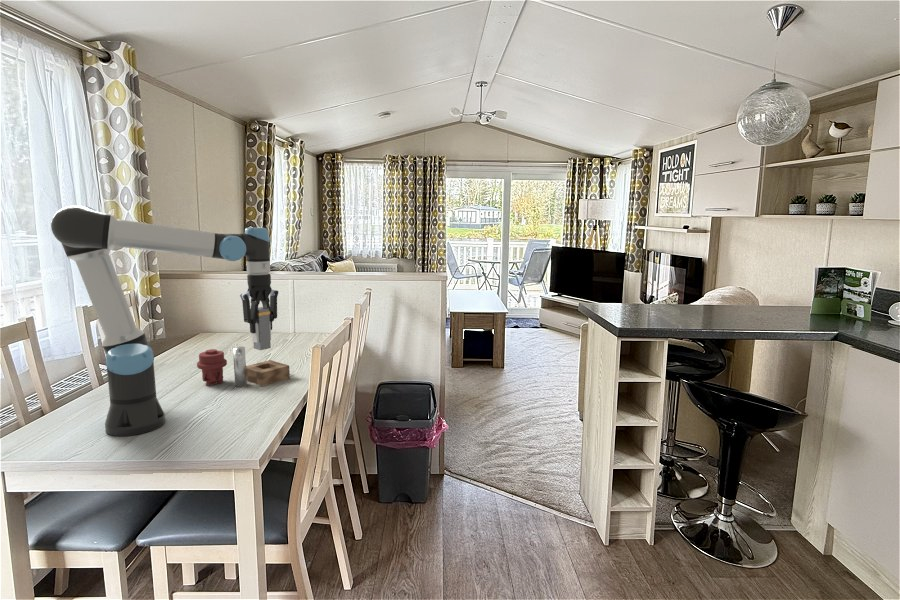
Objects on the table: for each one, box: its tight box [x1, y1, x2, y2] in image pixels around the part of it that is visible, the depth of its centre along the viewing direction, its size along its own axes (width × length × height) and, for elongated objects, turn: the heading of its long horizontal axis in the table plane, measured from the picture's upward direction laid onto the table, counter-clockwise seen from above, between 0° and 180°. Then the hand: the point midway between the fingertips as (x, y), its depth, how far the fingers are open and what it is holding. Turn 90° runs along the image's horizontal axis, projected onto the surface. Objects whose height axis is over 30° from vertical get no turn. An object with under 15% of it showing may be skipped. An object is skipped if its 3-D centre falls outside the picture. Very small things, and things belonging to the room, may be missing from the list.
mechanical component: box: [196, 348, 228, 386], centre depth 195 cm, size 12×10×10 cm
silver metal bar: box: [232, 345, 248, 388], centre depth 193 cm, size 4×4×14 cm
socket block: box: [246, 359, 291, 387], centre depth 201 cm, size 12×12×5 cm
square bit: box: [252, 306, 272, 351], centre depth 183 cm, size 4×4×14 cm
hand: (261, 340), depth 184 cm, fingers closed on square bit, 4 cm apart
